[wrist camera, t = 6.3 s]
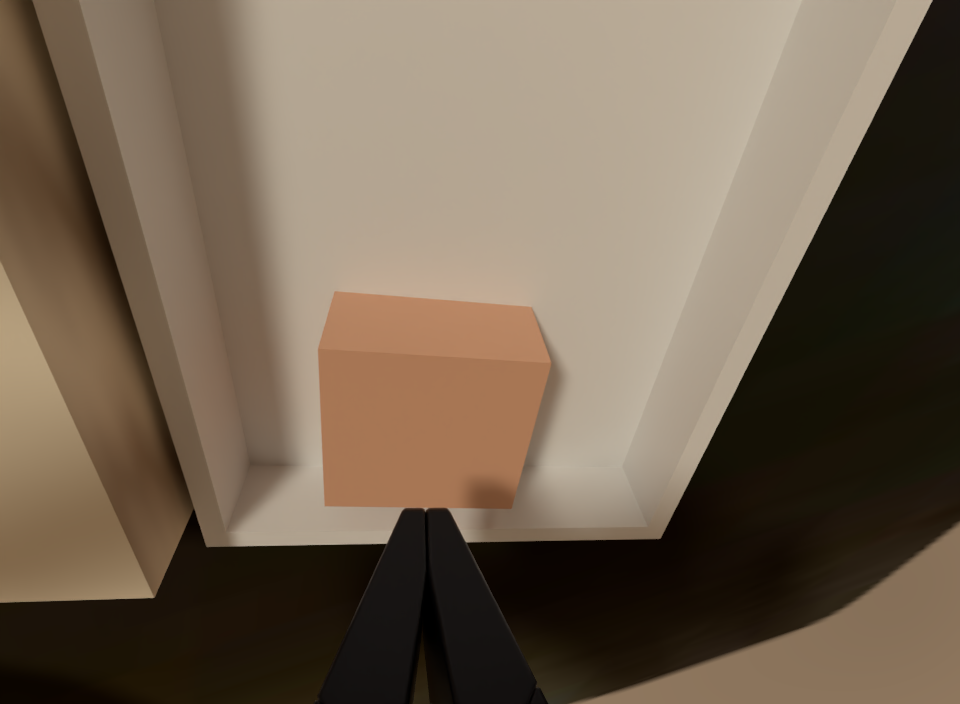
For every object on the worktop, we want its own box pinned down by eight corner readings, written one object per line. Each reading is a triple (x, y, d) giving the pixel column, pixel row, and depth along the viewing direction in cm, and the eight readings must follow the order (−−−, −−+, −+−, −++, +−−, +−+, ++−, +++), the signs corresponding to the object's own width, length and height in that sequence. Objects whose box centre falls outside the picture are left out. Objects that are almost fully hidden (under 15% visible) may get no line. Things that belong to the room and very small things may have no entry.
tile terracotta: (324, 506, 13) (337, 438, 15) (511, 509, 14) (500, 443, 16) (317, 348, 10) (334, 291, 12) (551, 362, 11) (531, 306, 13)
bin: (628, 465, 18) (660, 538, 16) (238, 464, 16) (206, 546, 14) (1029, -551, 7) (1359, -846, 4) (-76, -928, 5) (-539, -1790, 3)
